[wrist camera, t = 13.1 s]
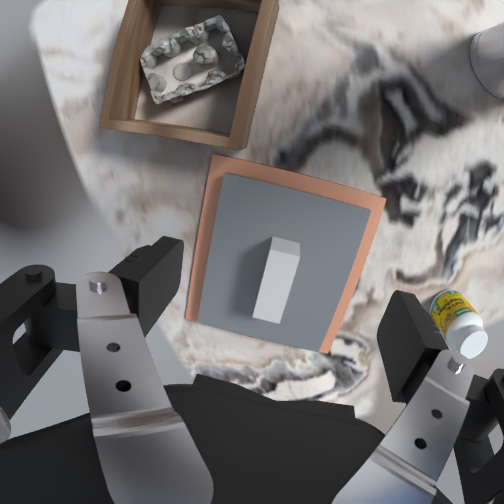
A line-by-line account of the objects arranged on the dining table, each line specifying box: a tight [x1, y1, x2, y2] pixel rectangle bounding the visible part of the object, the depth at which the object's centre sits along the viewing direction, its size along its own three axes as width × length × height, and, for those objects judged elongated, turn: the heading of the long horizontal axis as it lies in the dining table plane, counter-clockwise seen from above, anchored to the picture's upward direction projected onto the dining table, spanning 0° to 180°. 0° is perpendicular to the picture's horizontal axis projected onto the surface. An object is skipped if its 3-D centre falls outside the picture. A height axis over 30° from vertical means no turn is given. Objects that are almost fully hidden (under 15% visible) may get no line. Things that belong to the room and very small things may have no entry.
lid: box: [197, 172, 371, 352], centre depth 36 cm, size 16×19×6 cm
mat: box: [185, 154, 386, 354], centre depth 39 cm, size 20×22×1 cm
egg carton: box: [140, 15, 245, 105], centre depth 30 cm, size 11×8×4 cm
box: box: [100, 0, 279, 150], centre depth 29 cm, size 15×17×6 cm
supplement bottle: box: [430, 289, 488, 359], centre depth 34 cm, size 5×5×10 cm
